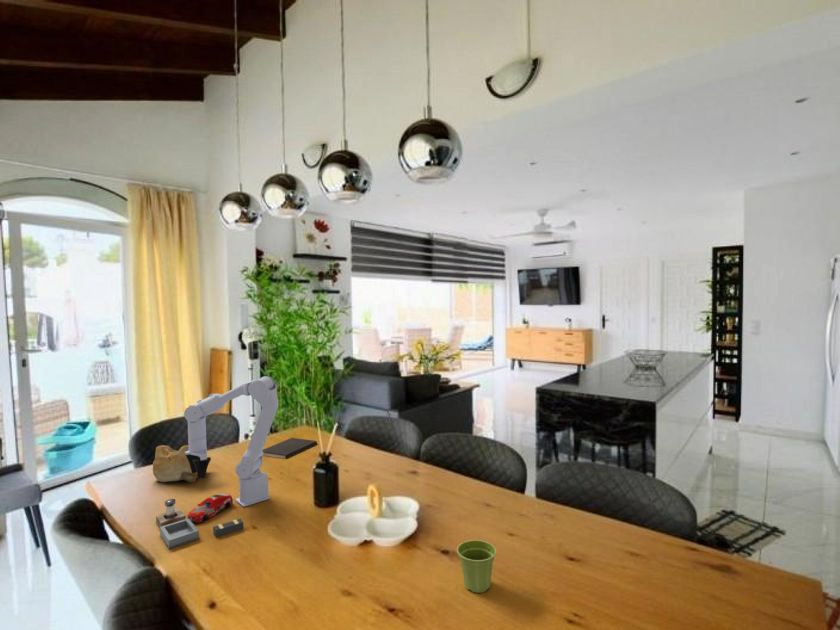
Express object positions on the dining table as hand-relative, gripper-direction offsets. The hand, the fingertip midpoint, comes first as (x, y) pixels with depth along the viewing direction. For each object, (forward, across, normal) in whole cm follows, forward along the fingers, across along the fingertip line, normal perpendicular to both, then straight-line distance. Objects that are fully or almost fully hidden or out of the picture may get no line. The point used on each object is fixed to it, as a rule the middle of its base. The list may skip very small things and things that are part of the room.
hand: (198, 475), depth 160 cm
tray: (+9, +23, -12) cm, 28 cm away
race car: (+10, +13, 0) cm, 16 cm away
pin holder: (+9, +10, -12) cm, 18 cm away
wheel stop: (+10, +30, 0) cm, 32 cm away
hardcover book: (+10, -32, +50) cm, 60 cm away
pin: (+9, +10, -12) cm, 18 cm away
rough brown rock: (+10, -28, +4) cm, 30 cm away
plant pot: (+9, +100, +34) cm, 107 cm away
